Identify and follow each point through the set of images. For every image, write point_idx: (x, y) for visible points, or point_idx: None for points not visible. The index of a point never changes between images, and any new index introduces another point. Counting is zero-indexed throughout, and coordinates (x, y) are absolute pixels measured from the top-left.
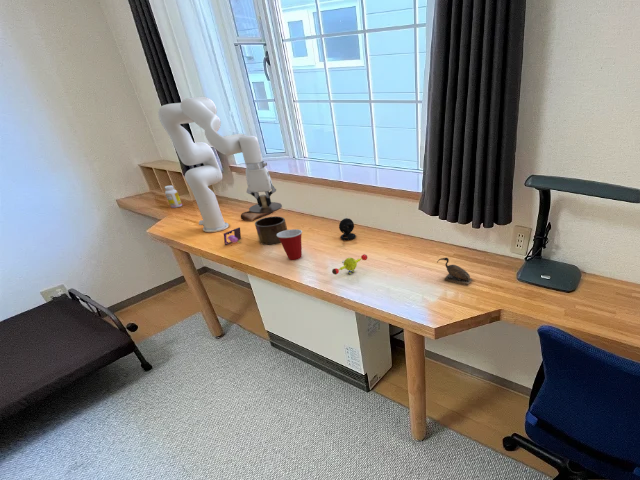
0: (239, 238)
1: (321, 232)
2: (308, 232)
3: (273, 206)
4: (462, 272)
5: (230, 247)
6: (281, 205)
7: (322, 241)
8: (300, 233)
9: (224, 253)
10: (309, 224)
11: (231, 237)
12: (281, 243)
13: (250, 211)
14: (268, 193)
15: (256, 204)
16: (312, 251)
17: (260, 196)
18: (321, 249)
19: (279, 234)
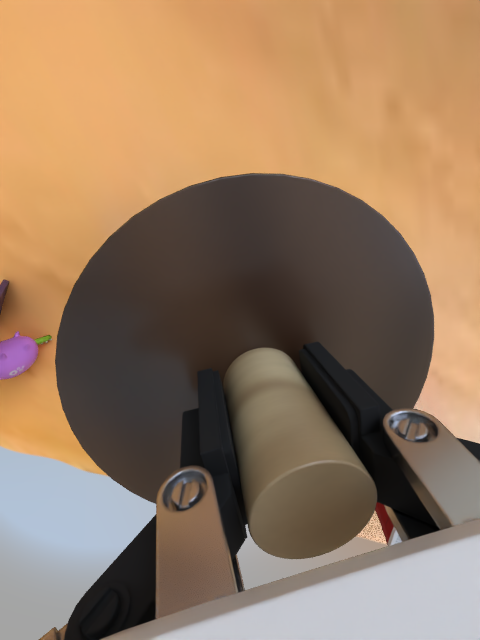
0: (5, 290)
1: (460, 182)
2: (390, 180)
3: (348, 357)
4: None
5: (38, 389)
6: (431, 317)
7: (465, 303)
8: None
9: (59, 445)
10: (377, 6)
11: (4, 378)
12: (378, 517)
13: (146, 493)
14: (446, 477)
15: (78, 299)
16: (430, 396)
17: (291, 558)
18: (462, 378)
19: (392, 535)
